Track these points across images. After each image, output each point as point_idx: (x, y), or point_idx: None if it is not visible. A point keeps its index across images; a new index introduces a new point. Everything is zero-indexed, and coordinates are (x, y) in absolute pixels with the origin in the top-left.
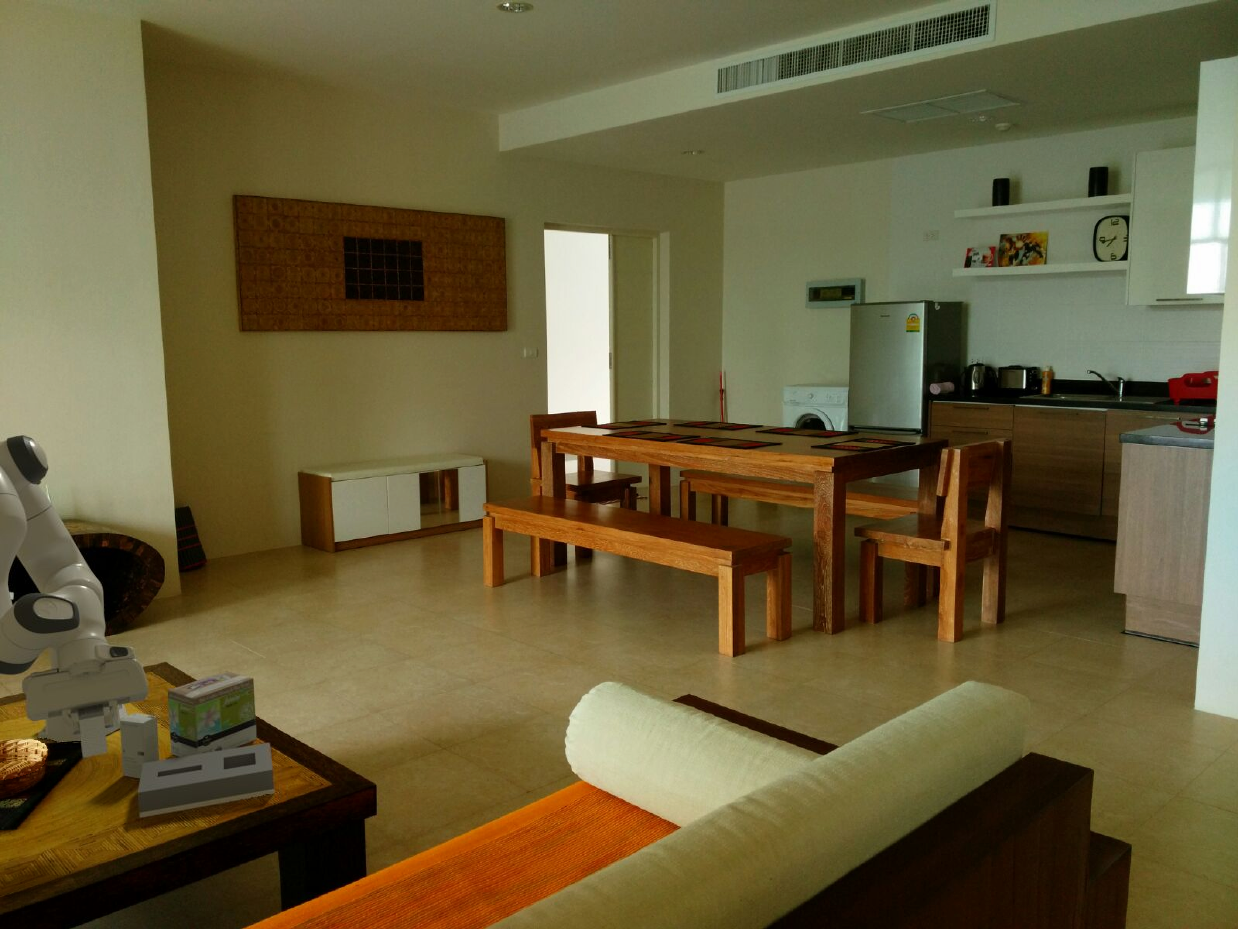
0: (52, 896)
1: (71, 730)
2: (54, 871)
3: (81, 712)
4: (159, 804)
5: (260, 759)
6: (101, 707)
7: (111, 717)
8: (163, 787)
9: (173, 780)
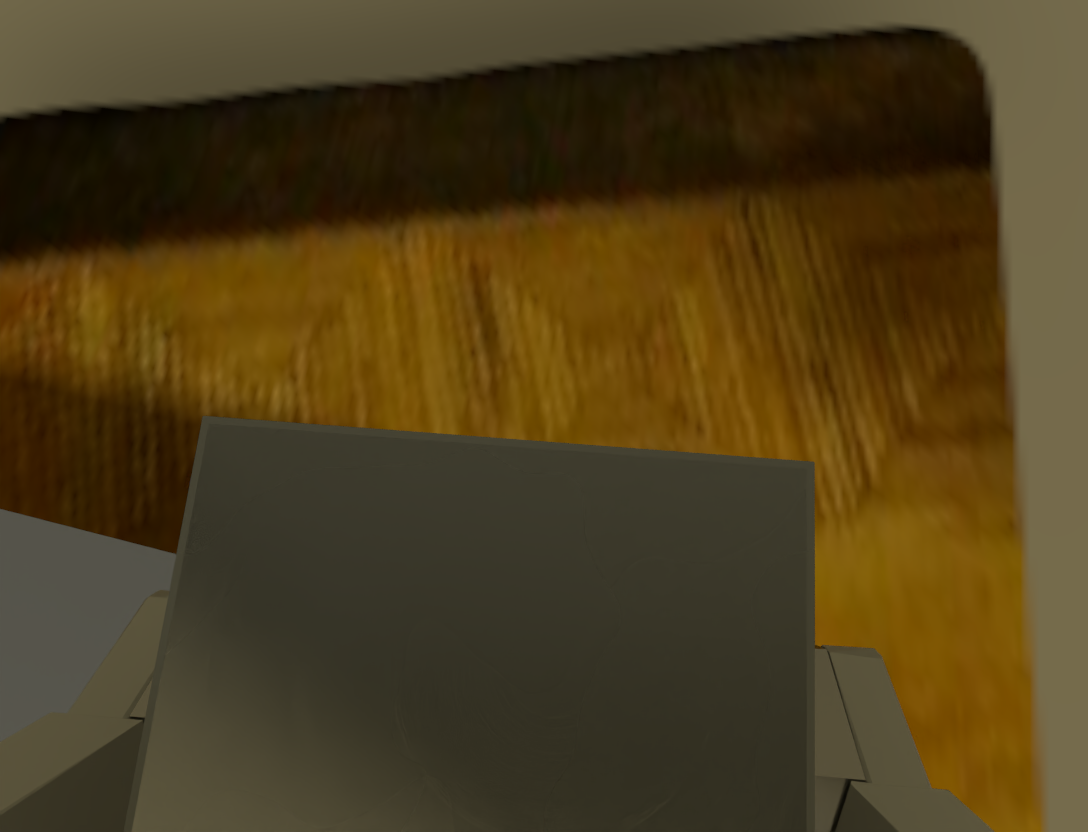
0: (826, 43)
1: (871, 657)
2: (812, 256)
3: (721, 713)
4: None
5: None
6: (169, 773)
7: (116, 667)
8: (124, 555)
9: (27, 637)
